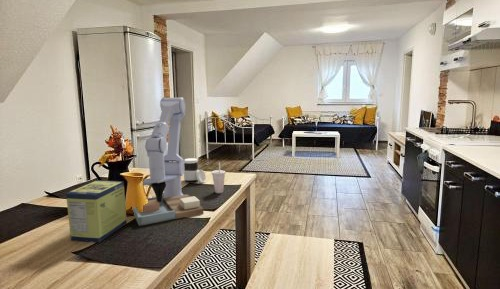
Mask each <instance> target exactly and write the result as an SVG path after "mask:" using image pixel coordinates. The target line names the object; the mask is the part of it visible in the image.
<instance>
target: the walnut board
mask: <svg viewBox="0 0 500 289" xmlns="http://www.w3.org/2000/svg"><path fill="white" fill-rule="evenodd" d="M187 197H191V196H190V195H189V194H188V193H187V194H186V193H185V194H183V195H180V196H174V197H167V198H165V197H163V200H164V203H165V205H166V206H167V207H168V209H169V210H170V211H173V210H175V216H176V219H177V220H178V219H183V218H188V217H192V216H198V215H202V214H204V207H203V206H201V205H200V207H195V208H190V209H184V208H183V207H182V206H181V205H180V199H181V198H187ZM176 219H175V220H176Z"/></svg>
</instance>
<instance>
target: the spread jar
mask: <svg viewBox="0 0 500 289" xmlns="http://www.w3.org/2000/svg"><path fill="white" fill-rule="evenodd" d="M183 160H184V167H185V170H184V174H183V180H184V183H187V184H193V183H195V184H196V183H198V182H199V183H200V184H203V183H205V182H206V181H207V177H206V173H205V172H204V170H203V169H199V168H200V166H199V162H198V158H195V157H193V158H192V157H191V158H190V157H189V158H185V159H183Z"/></svg>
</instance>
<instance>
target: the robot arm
mask: <svg viewBox="0 0 500 289" xmlns="http://www.w3.org/2000/svg"><path fill="white" fill-rule="evenodd" d="M159 106H160V110H161V114H160V116H159V121H158V122H156V123H155V125H154V126H153V129H152V131H151V132H152V133H151V136H150V137H149V138H147V139H146V140H145V145H144V148H145V150H146V153H147V154H146V155H147V157H148V163H149V164H148V166H149V178H144V179H143V180H144V181H143V186H149V185H150V187H151V188H152V190H153V192H154V195H155V197H156V198H157V201H158V202H161V200H162V196H163V198H167V197H174V196H180V195H184V193H183V192H182V176H184V170H185V167H184V160H185V159H184V158H183V156H182V157H181V156H180V155H179V151H180V150H179V149H180V140H181V139H180V138H181V137H180V136H181V127H182V126H181V125H182V119H183V118H185V116H186V109H187V108H186V107H187V106H186V100H185V98H184V97H183V96H182V97H180V96H179V97H161V99H160V102H159ZM167 136H168V140H167ZM166 149H167V150H166ZM165 151H166V154H165ZM143 186H142V187H143Z"/></svg>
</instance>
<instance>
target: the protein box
mask: <svg viewBox="0 0 500 289" xmlns="http://www.w3.org/2000/svg"><path fill="white" fill-rule="evenodd" d="M65 195H66V196H65V197H66V204H67V205H66V206H67V216H68V224H69V225H68V226H69V233H70V236H69V237H70V240H71V241H74V242H75V241H77V242H78V241H79V242H87V243H88V242H91V243H101V242H102V241H104V240H105V239H106V238H108V237H109V236H110V235H112V234H114V233H115V232H116V231H118V230H120V229H121V228H123V227H124V226H125V225H126V224H127V223H128V221H127V219H128V218H127V207H126V196H125V181H123V180H102V179H101V180H99V179H98V180H94V181H92V182H90V183H88V184H85V185H83V186H81V187H78V188H75V189H73V190H70V191H68V192H66V193H65ZM110 237H111V236H110Z"/></svg>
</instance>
